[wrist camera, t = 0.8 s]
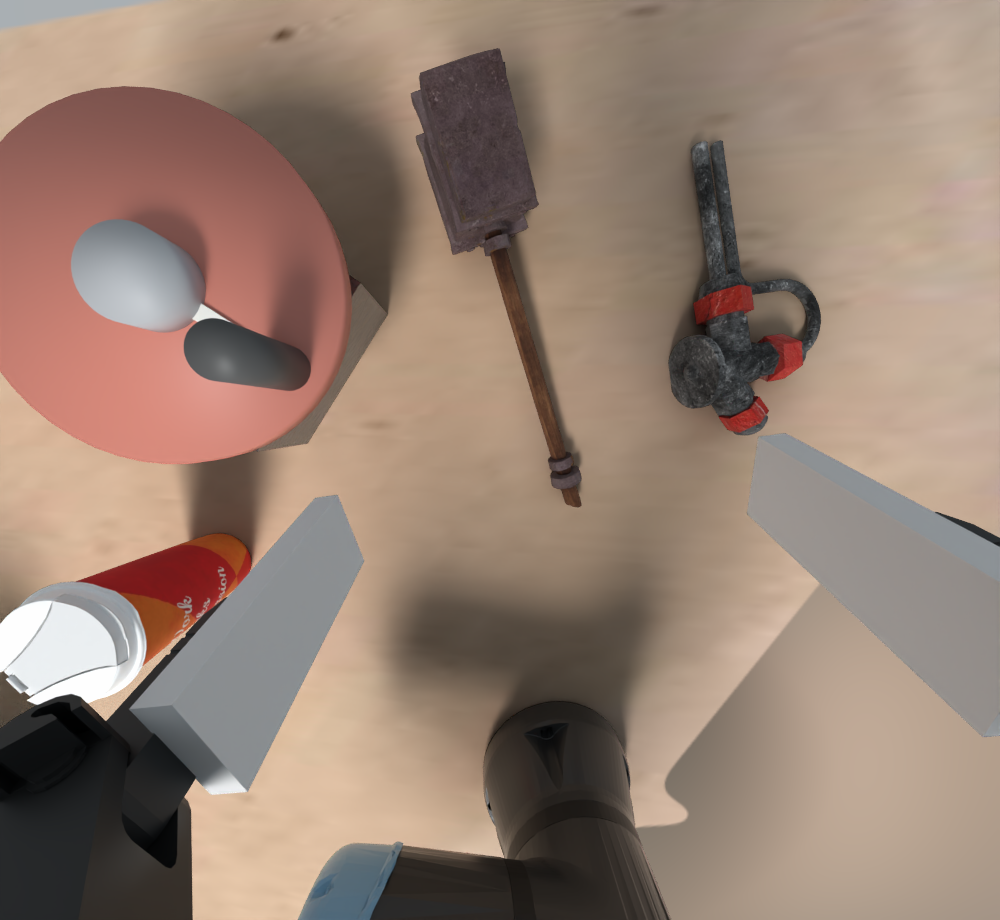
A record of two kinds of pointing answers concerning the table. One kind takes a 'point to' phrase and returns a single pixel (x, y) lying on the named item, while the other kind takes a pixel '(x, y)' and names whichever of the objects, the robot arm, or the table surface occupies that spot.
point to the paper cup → (115, 619)
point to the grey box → (362, 331)
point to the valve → (732, 318)
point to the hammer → (487, 200)
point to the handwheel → (164, 278)
